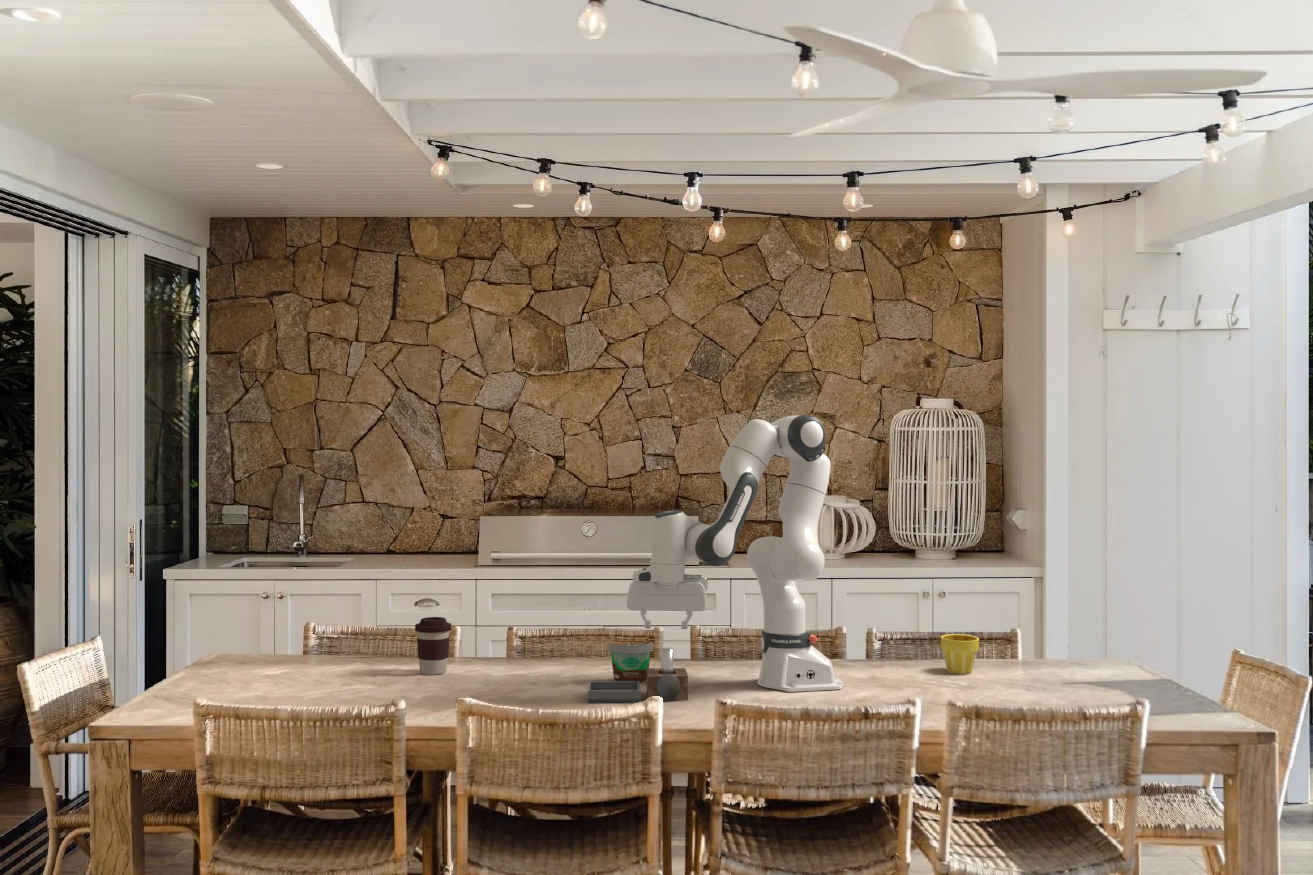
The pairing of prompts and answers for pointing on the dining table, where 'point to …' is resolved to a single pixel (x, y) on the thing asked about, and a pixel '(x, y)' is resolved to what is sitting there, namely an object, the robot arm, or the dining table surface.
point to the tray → (614, 691)
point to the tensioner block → (667, 684)
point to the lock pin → (667, 660)
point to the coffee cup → (433, 645)
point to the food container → (630, 661)
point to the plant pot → (959, 652)
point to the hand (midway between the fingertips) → (666, 628)
